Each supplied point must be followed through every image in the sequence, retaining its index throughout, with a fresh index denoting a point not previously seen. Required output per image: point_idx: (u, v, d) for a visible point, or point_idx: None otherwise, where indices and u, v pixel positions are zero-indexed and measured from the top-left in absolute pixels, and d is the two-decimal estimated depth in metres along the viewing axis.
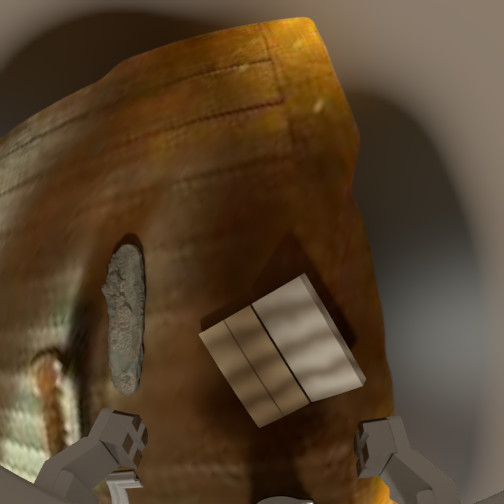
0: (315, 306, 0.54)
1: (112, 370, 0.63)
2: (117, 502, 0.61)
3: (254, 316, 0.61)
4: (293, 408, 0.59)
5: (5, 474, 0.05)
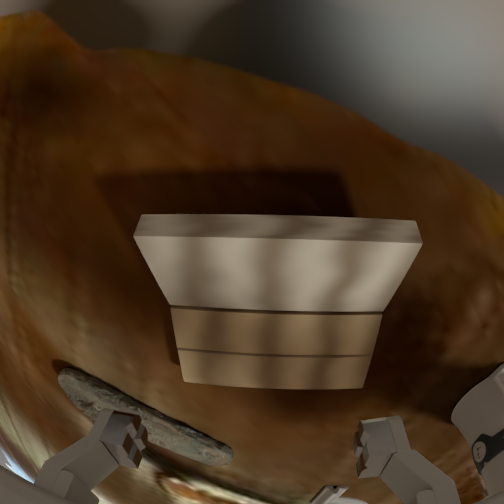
0: (201, 239, 0.25)
1: (195, 459, 0.49)
2: None
3: (190, 311, 0.35)
4: (371, 339, 0.34)
5: (5, 474, 0.05)
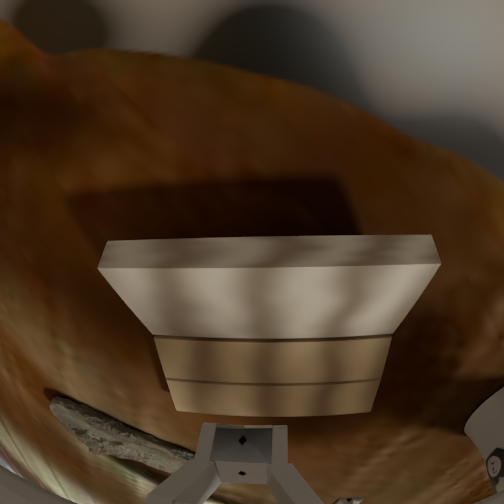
0: (174, 271, 0.20)
1: None
2: None
3: (175, 341, 0.30)
4: (379, 363, 0.30)
5: (5, 474, 0.05)
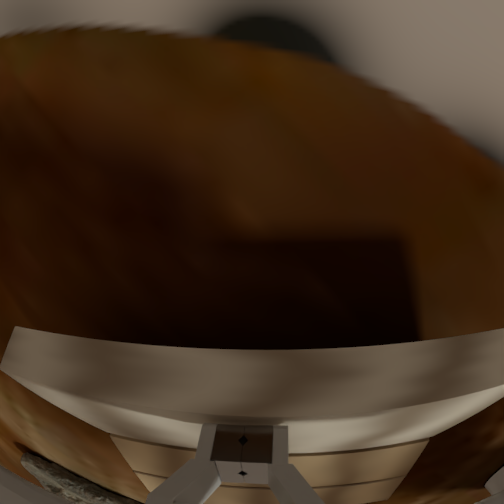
0: (94, 398, 0.10)
1: None
2: None
3: (137, 443, 0.19)
4: (408, 463, 0.18)
5: (5, 474, 0.05)
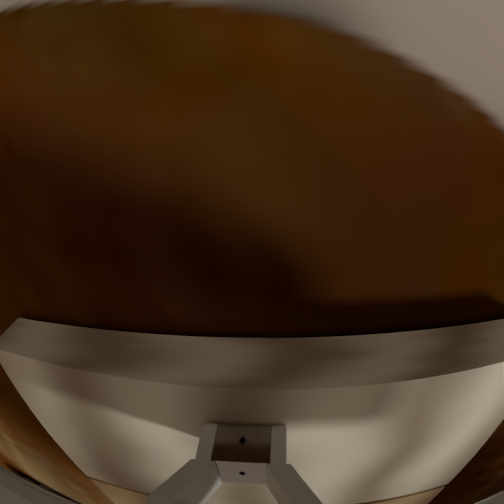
0: (86, 376, 0.10)
1: None
2: None
3: (119, 489, 0.15)
4: None
5: (5, 474, 0.05)
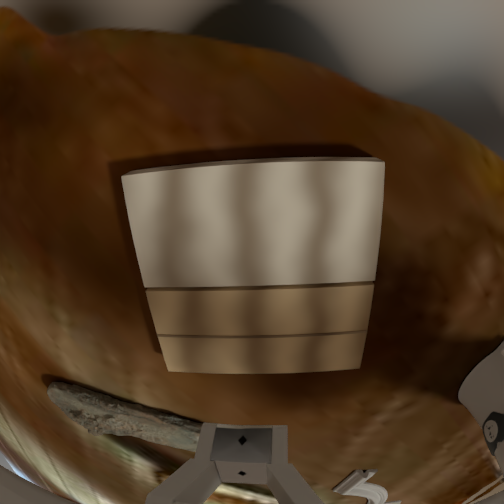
0: (181, 172, 0.27)
1: None
2: (368, 494, 0.56)
3: (166, 293, 0.32)
4: (364, 312, 0.32)
5: (5, 474, 0.05)
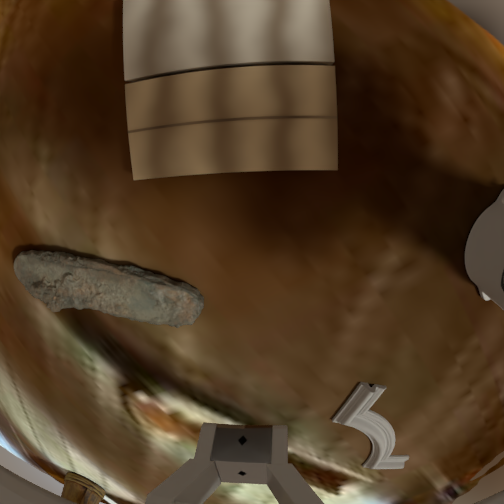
0: None
1: (161, 321, 0.44)
2: (374, 431, 0.53)
3: (142, 82, 0.31)
4: (330, 94, 0.30)
5: (5, 474, 0.05)
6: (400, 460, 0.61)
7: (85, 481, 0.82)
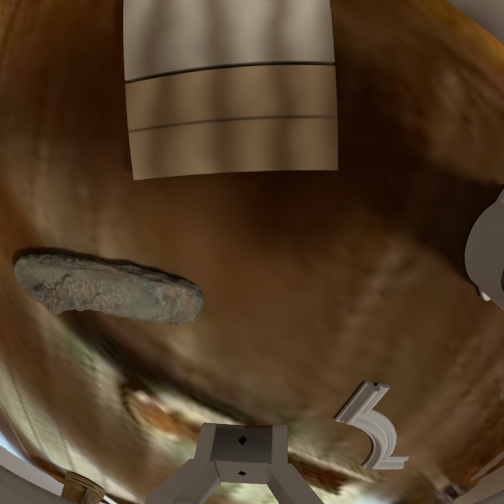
0: None
1: (161, 319, 0.44)
2: (376, 431, 0.53)
3: (143, 82, 0.31)
4: (330, 94, 0.30)
5: (5, 474, 0.05)
6: (400, 460, 0.61)
7: (85, 481, 0.82)
